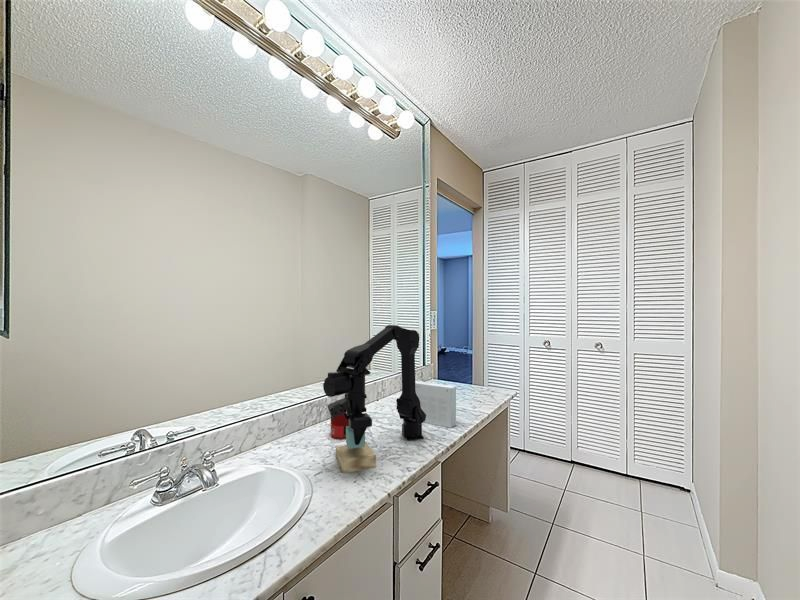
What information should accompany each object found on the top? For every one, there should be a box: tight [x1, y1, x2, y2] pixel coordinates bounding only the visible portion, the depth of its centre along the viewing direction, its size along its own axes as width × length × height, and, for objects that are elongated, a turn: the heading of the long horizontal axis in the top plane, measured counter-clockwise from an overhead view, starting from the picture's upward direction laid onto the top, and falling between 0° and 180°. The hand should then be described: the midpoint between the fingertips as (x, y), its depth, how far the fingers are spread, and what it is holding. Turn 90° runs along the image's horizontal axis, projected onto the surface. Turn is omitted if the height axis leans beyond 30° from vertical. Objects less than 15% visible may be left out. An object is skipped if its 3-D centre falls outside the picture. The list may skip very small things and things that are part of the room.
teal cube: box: [345, 426, 366, 449], centre depth 103 cm, size 5×5×5 cm
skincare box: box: [415, 380, 457, 429], centre depth 141 cm, size 21×5×16 cm, turn 58°
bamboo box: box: [335, 441, 377, 474], centre depth 103 cm, size 10×10×4 cm
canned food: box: [330, 412, 349, 440], centre depth 125 cm, size 8×8×11 cm
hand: (355, 441), depth 103 cm, fingers closed on teal cube, 5 cm apart
